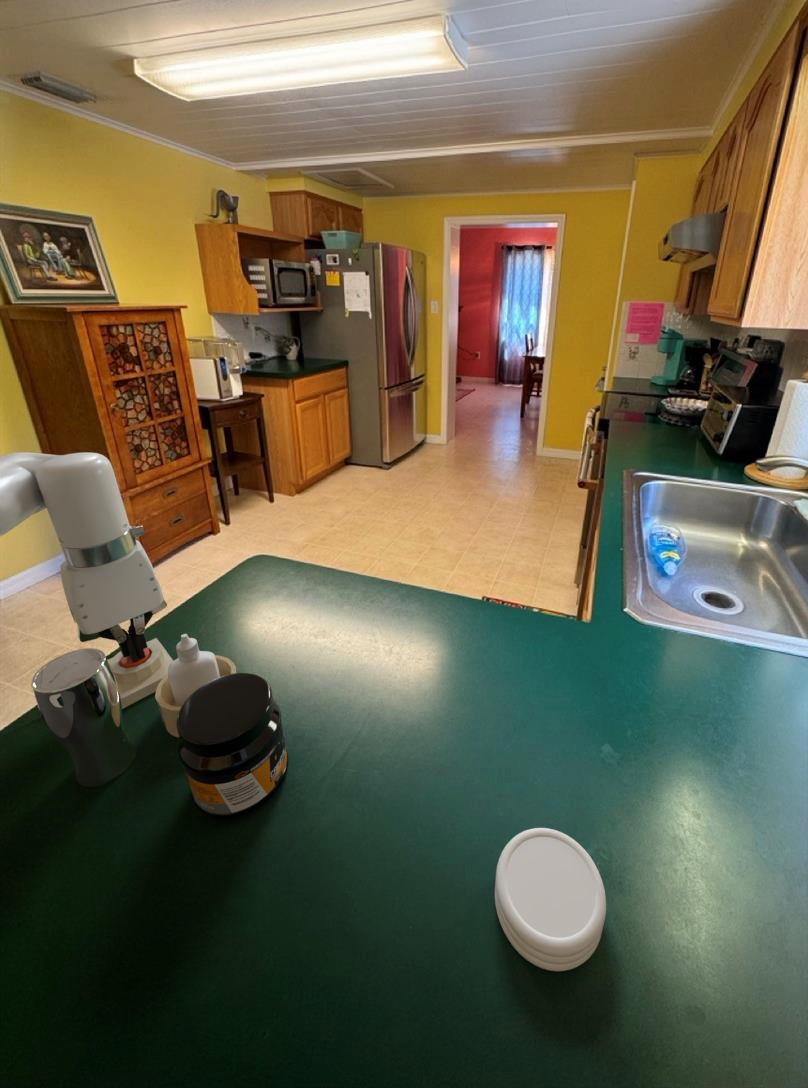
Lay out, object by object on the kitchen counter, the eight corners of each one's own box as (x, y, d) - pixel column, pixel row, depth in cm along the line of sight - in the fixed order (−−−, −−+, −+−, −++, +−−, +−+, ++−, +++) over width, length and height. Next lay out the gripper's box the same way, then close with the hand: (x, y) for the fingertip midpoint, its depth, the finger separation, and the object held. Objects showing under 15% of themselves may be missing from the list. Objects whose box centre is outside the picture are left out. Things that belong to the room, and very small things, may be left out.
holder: (153, 709, 65) (145, 681, 63) (223, 671, 71) (217, 645, 69) (180, 752, 59) (171, 723, 57) (253, 706, 65) (248, 679, 63)
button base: (100, 672, 71) (94, 654, 70) (159, 646, 76) (153, 628, 75) (120, 710, 65) (113, 691, 63) (182, 678, 70) (177, 659, 69)
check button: (120, 665, 70) (117, 655, 69) (147, 652, 72) (144, 643, 71) (127, 677, 67) (124, 668, 67) (155, 664, 70) (152, 655, 69)
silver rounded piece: (88, 803, 53) (44, 704, 47) (60, 771, 56) (17, 676, 51) (151, 755, 58) (119, 661, 53) (123, 729, 62) (90, 638, 56)
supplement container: (251, 839, 50) (231, 760, 45) (171, 809, 52) (145, 731, 48) (307, 752, 59) (295, 679, 54) (237, 731, 62) (220, 660, 57)
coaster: (623, 957, 41) (629, 934, 40) (514, 989, 39) (517, 967, 38) (572, 837, 50) (576, 815, 49) (482, 858, 48) (483, 836, 47)
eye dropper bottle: (191, 691, 67) (172, 623, 62) (230, 693, 67) (214, 625, 62) (173, 717, 63) (152, 646, 58) (214, 719, 63) (196, 648, 58)
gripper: (153, 519, 69) (181, 620, 77) (22, 558, 59) (68, 670, 66) (171, 535, 65) (199, 641, 72) (32, 581, 55) (81, 699, 62)
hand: (136, 655), depth 69 cm, fingers closed
